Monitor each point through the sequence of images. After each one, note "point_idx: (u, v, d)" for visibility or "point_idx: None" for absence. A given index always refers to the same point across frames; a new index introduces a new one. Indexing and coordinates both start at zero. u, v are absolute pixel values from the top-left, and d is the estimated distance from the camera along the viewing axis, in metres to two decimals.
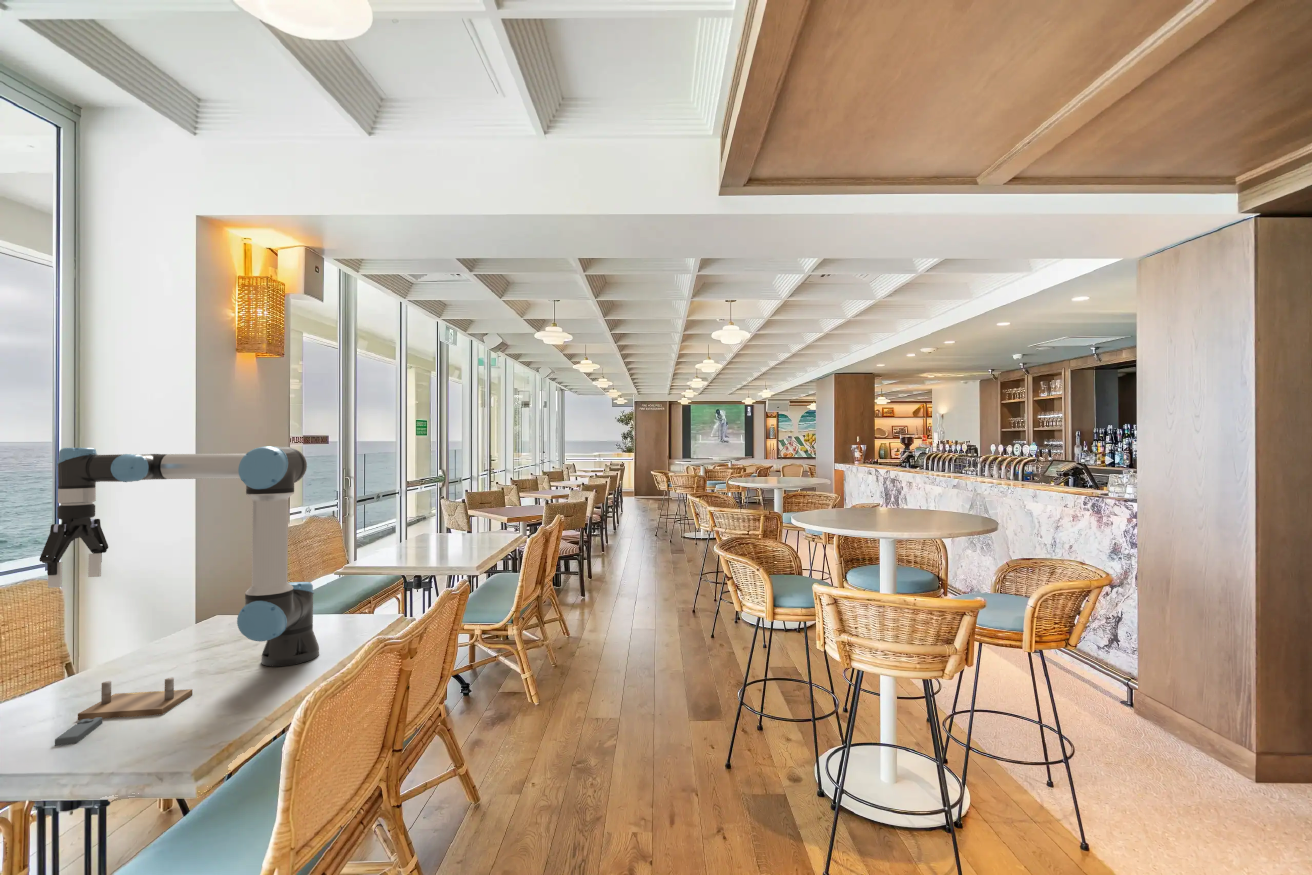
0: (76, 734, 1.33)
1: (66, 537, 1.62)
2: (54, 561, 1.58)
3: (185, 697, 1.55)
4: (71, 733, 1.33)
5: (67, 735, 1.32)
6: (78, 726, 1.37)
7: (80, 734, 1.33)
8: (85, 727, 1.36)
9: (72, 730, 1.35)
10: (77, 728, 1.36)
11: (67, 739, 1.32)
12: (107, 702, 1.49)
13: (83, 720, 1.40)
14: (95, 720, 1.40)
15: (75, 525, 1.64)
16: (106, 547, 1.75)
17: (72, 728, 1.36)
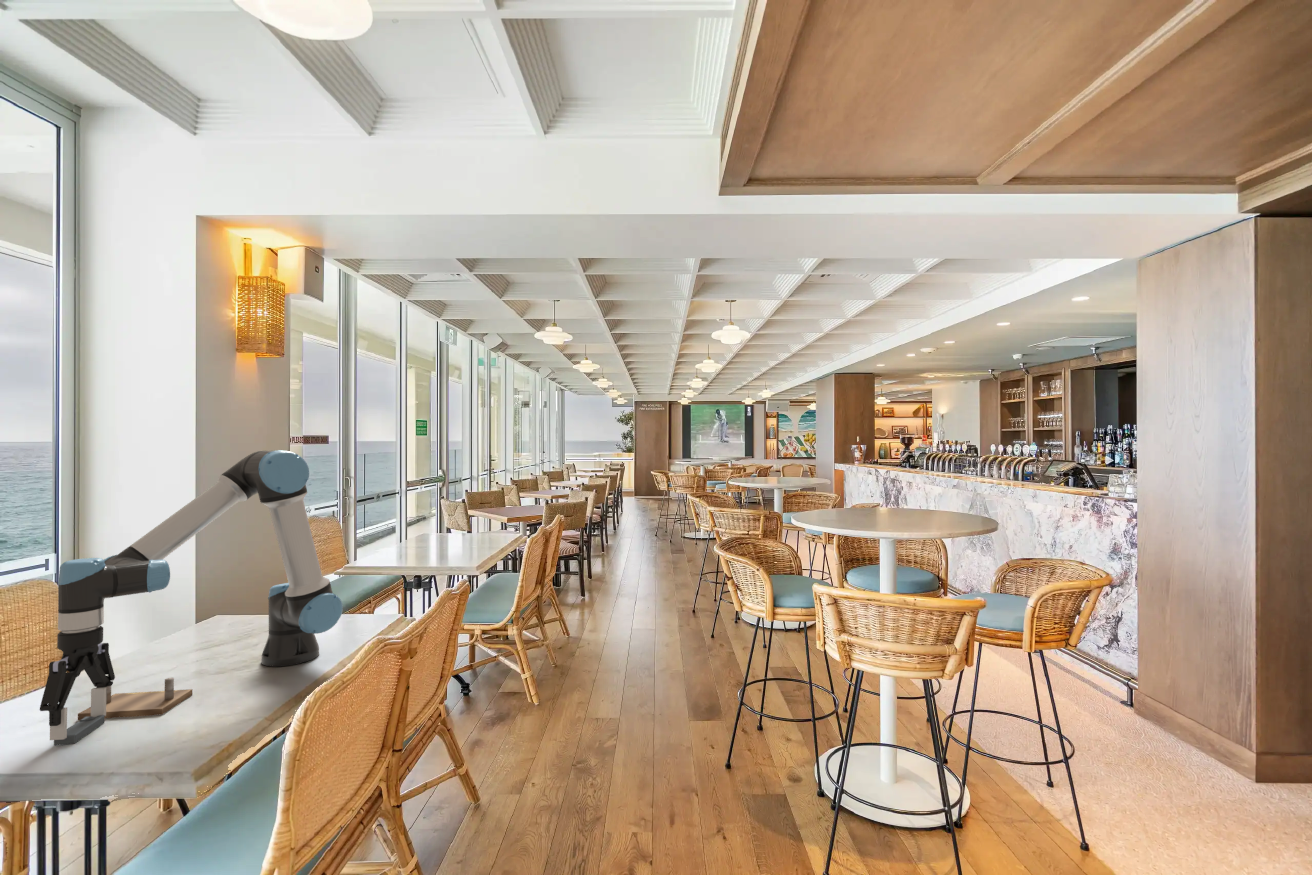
0: (75, 732, 1.33)
1: (69, 674, 1.33)
2: (57, 708, 1.30)
3: (185, 697, 1.55)
4: (70, 731, 1.33)
5: None
6: (79, 724, 1.37)
7: (79, 732, 1.33)
8: (85, 725, 1.36)
9: (72, 728, 1.35)
10: (77, 726, 1.36)
11: None
12: (107, 702, 1.49)
13: (85, 718, 1.40)
14: (97, 718, 1.40)
15: (79, 655, 1.35)
16: (112, 678, 1.45)
17: (73, 726, 1.36)
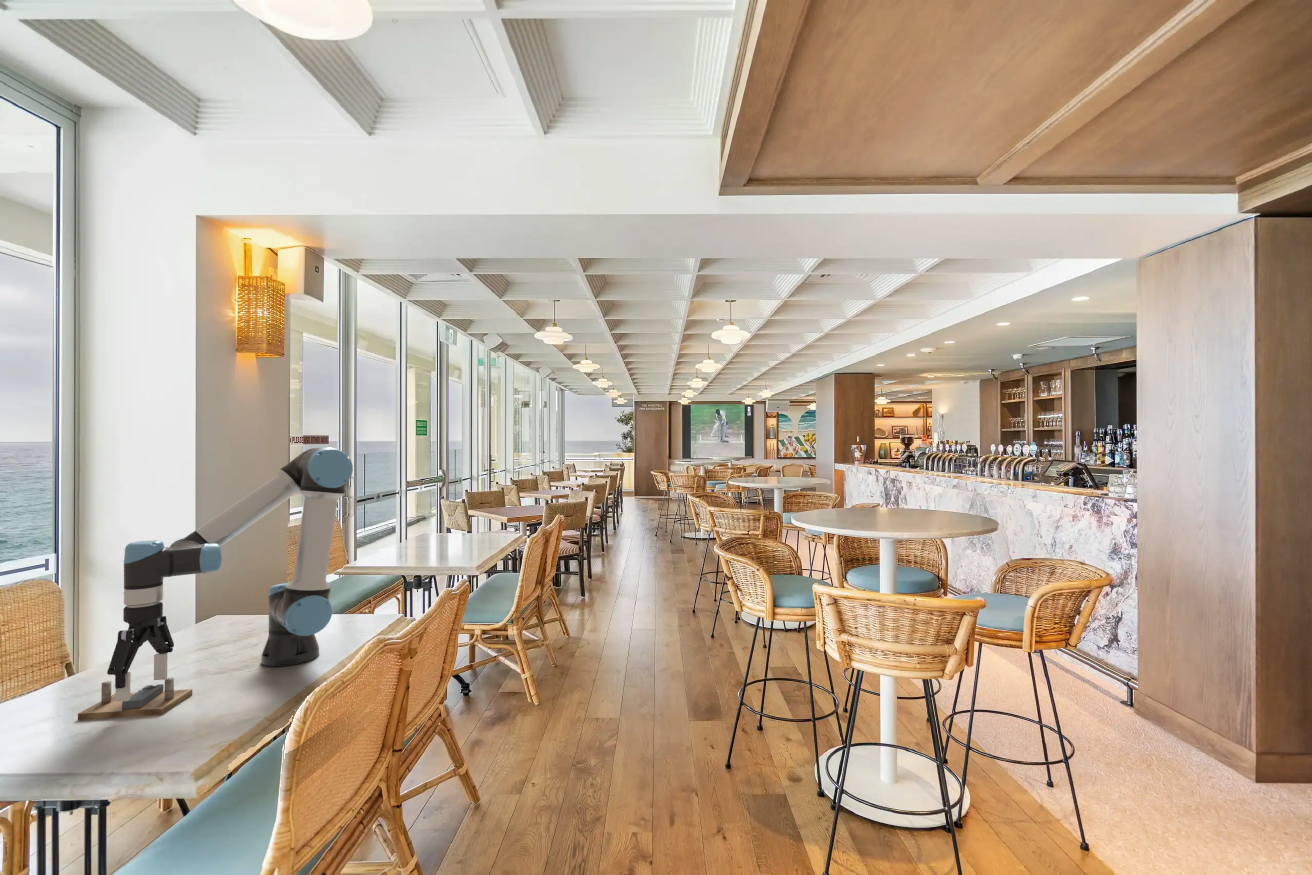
0: (140, 698, 1.47)
1: (134, 643, 1.47)
2: (122, 673, 1.43)
3: (185, 697, 1.55)
4: (136, 697, 1.48)
5: (132, 699, 1.47)
6: (142, 691, 1.51)
7: (143, 698, 1.48)
8: (148, 692, 1.51)
9: (137, 695, 1.49)
10: (141, 693, 1.50)
11: (132, 702, 1.46)
12: (107, 702, 1.49)
13: (147, 686, 1.55)
14: (157, 687, 1.54)
15: (142, 628, 1.50)
16: (172, 645, 1.60)
17: (137, 693, 1.51)
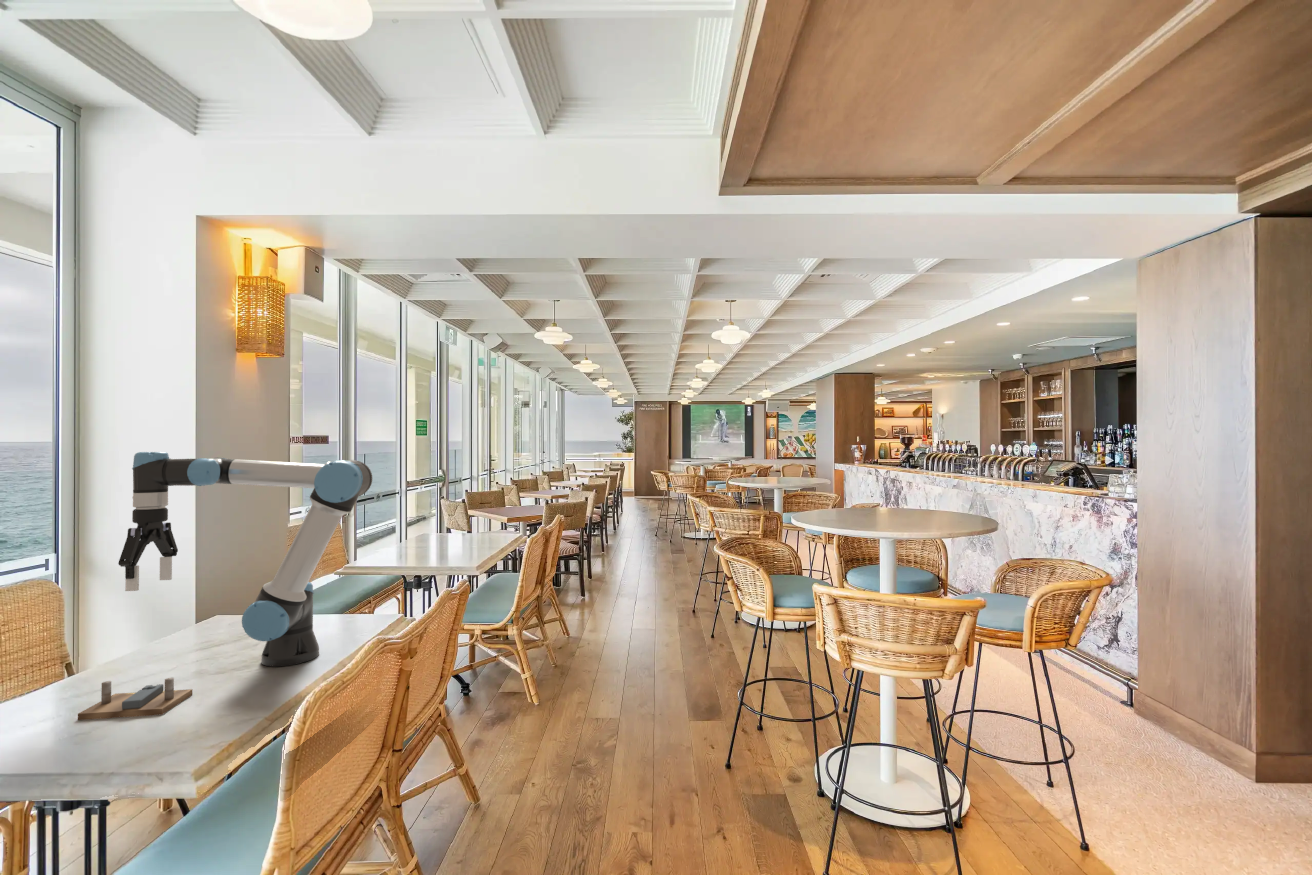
0: (140, 698, 1.47)
1: (142, 541, 1.63)
2: (132, 565, 1.59)
3: (185, 697, 1.55)
4: (136, 697, 1.48)
5: (132, 699, 1.47)
6: (142, 691, 1.51)
7: (143, 698, 1.48)
8: (148, 692, 1.51)
9: (137, 695, 1.49)
10: (141, 693, 1.50)
11: (132, 702, 1.46)
12: (107, 702, 1.49)
13: (147, 686, 1.55)
14: (157, 687, 1.54)
15: (150, 529, 1.65)
16: (176, 550, 1.76)
17: (137, 693, 1.51)
